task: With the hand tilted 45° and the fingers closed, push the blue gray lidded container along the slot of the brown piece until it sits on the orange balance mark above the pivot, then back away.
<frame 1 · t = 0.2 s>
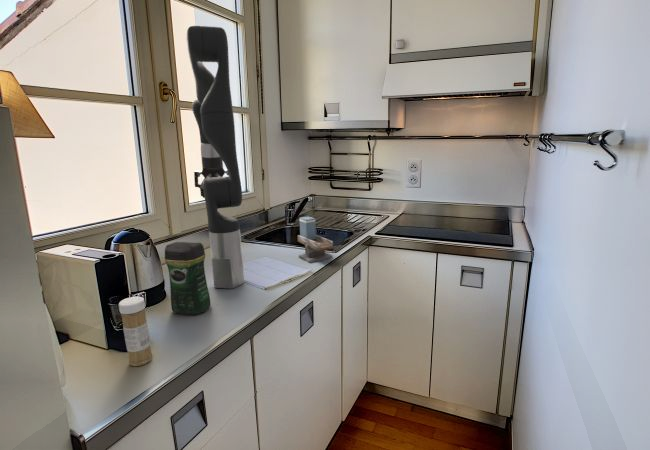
hand: (215, 196, 148), 23 cm above the counter, tool pointing down, fingers open, 8 cm apart
brown piece: (315, 257, 142), on the counter
sprinkles bottle: (140, 361, 78), on the counter
blue gray lidded container: (307, 228, 144), point 10 cm above the counter, slide at 5.0 cm
coffee jar: (191, 310, 101), on the counter
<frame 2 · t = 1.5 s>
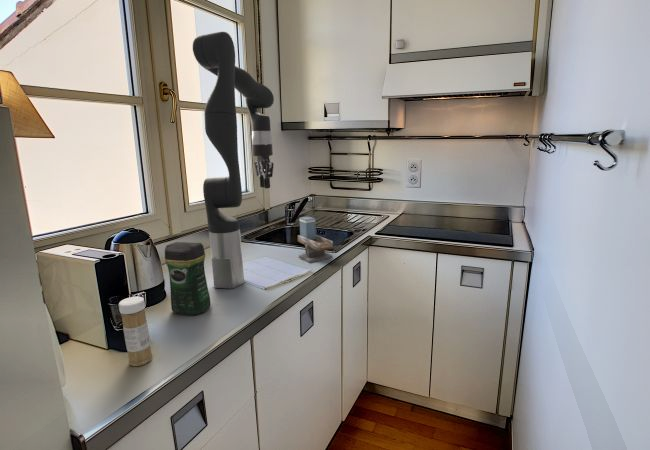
hand: (265, 187, 150), 25 cm above the counter, tool pointing down, fingers open, 3 cm apart
nothing on the counter moved.
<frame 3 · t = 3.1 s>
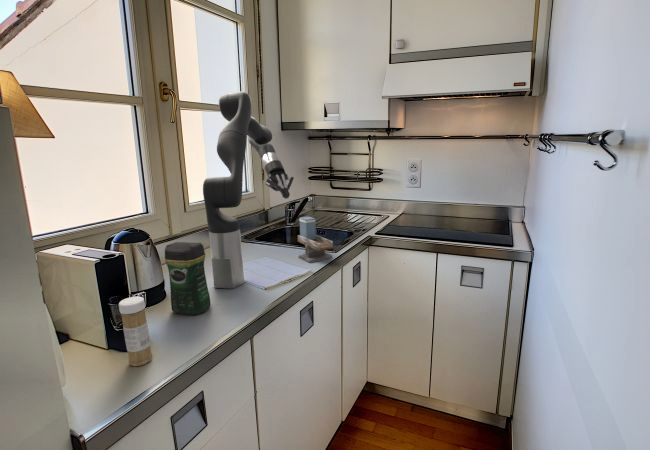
hand: (287, 197, 155), 20 cm above the counter, tool tilted 45°, fingers closed
nothing on the counter moved.
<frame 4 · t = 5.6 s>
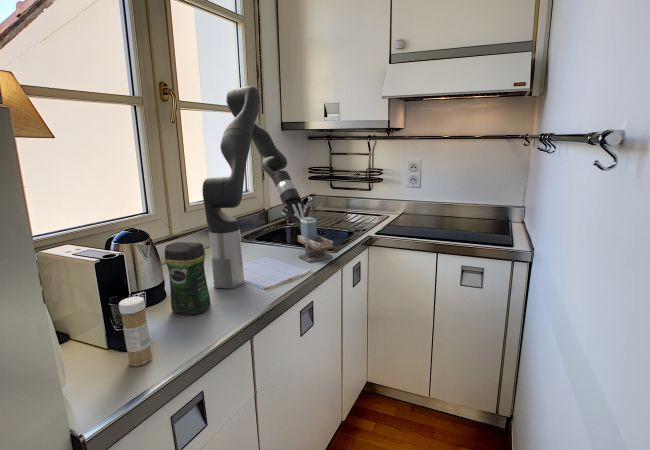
hand: (304, 228, 146), 10 cm above the counter, tool tilted 45°, fingers closed
blue gray lidded container: (308, 228, 143), point 10 cm above the counter, slide at 4.3 cm, touching gripper
everything else where it was.
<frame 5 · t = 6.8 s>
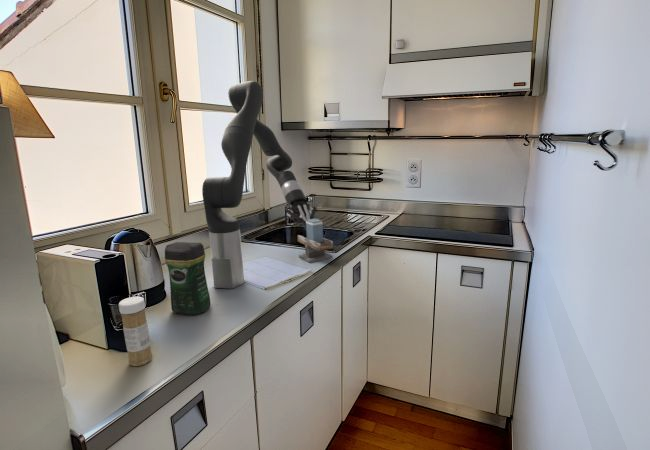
hand: (310, 230, 142), 10 cm above the counter, tool tilted 45°, fingers closed
blue gray lidded container: (314, 230, 140), point 10 cm above the counter, slide at -0.1 cm, touching gripper
everything else where it was.
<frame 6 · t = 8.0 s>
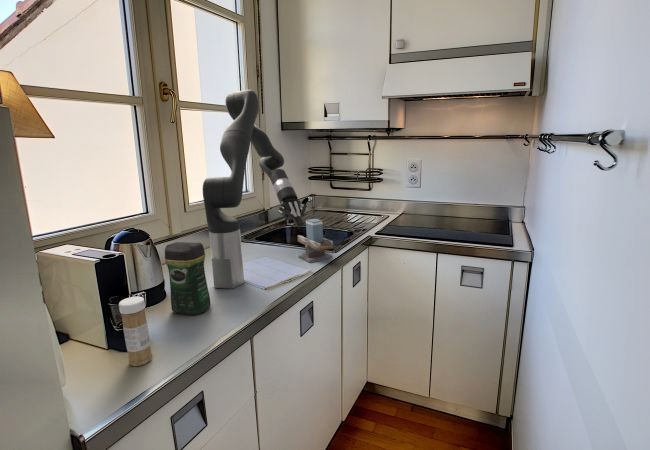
hand: (300, 226, 149), 10 cm above the counter, tool tilted 45°, fingers closed
blue gray lidded container: (314, 230, 140), point 10 cm above the counter, slide at -0.1 cm
everything else where it was.
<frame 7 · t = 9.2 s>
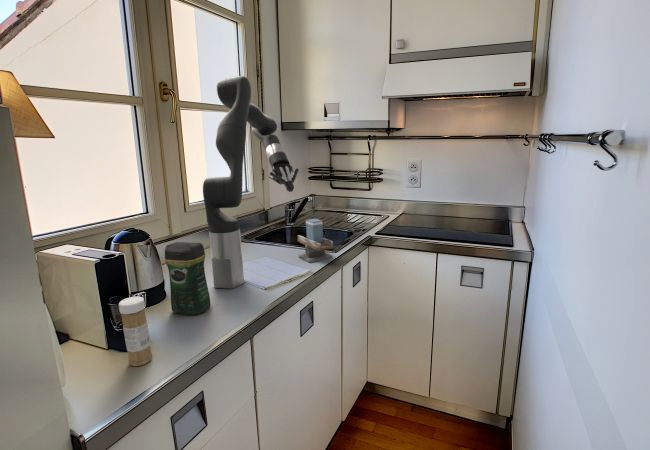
hand: (291, 190, 149), 24 cm above the counter, tool tilted 45°, fingers closed
nothing on the counter moved.
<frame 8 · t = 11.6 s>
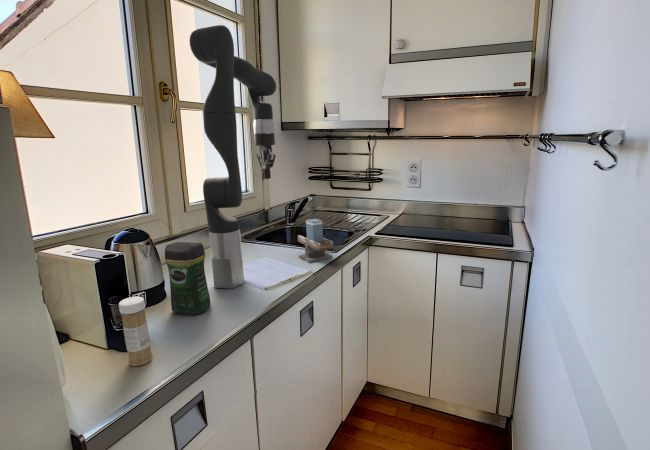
hand: (267, 178, 146), 29 cm above the counter, tool pointing down, fingers closed
nothing on the counter moved.
at the end: blue gray lidded container slide at -0.1 cm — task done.
